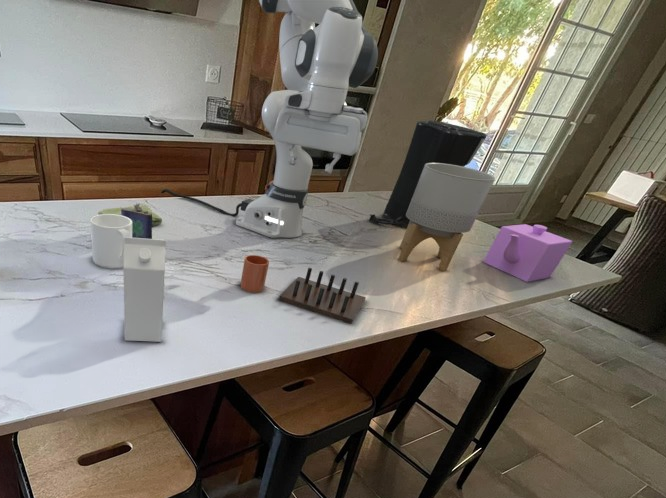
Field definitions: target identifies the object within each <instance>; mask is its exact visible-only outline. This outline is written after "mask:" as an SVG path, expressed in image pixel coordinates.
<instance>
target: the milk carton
mask: <svg viewBox="0 0 666 498" xmlns="http://www.w3.org/2000/svg"><path fill="white" fill-rule="evenodd" d="M166 241H167V240H166V239H158V238H157V239H156V238H152V239H145V238H131V237H124V265H123V268H122V269H123V317H124V318H123V321H124V323H123V324H124V326H123V327H124V328H123V329H124V341H130V342H131V341H132V342H133V341H134V342H154V343H155V342H159V343H161V342H162V340H163V320H164V319H163V318H164V298H165V297H164V296H165V274H166V246H167V245H166V243H167V242H166Z"/></svg>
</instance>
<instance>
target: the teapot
mask: <svg viewBox="0 0 666 498" xmlns="http://www.w3.org/2000/svg"><path fill="white" fill-rule="evenodd" d="M547 230H548V227H547V226H545V225H542V224H534V225H533V226H532V225H530V224H528V223H527V224H526V223H522V224H514V225H502V226H501V227H500V228H499V231H498V233H497V234H496V236H495V238H494V240H493V242H492V244H491V246H490V247H489V250H488V251H487V254H486V256H485V257H484V259H483V261H482V262H483V263H485V264H487V265H489V266H491V267H493V268H495V269H498V270H499V271H502V272H504V273H506V274H509V275H511V276H513V277H514V278H518V279H519V280H522V281H524V282H526V283H528V282H533V281H537V280H538V281H539V280H542V279H549V278H551V277H552V275H553V273H555V270H556V269H557V267H558V266H559V264H560V263H561V261H562V259H563V258H564V256H565V255H566V253H567V251H569V248H570V247H571V245H572V244H573V240H571V239H568V238H565V237H564V236H563V237H562V236H560V235H557V234H554V233H551V232H549V231H547Z"/></svg>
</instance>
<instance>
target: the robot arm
mask: <svg viewBox="0 0 666 498" xmlns="http://www.w3.org/2000/svg"><path fill="white" fill-rule="evenodd" d="M258 2H259V4H260V9H261V10H262V11H263V12H264V13H266V14H276V13H286V14H285V15H283V18H282V19H281V22H280V26H279V36H278V37H279V38H278V50H279V52H278V53H279V62H280V72H281V81H282V83H283V86H284V87H285V88H286V89H282V90H275V91H271V92H270V93H269V94H268V96H267V97H266V98H265V99H264V102H263V105H262V108H261V120H262V123H263V127H264V128H265V130H266V131H267V132H268V134H270V136H271V138H272V140H273V143H274V146H275V152H276V153H275V154H276V160H275V169H274V175H273V180H271V181H270V182H269V183H267V184H266V185H264V187H265V188H264V190H265V193H264V194H262V195H261V196H259V197H257V198H256V199H251V198H248V199H244V200H242V201H241V202H240V203H238V204H237V205H236V207H235V212H234V213H230V212H227V211H225V210H224V209H222V208H219V207H217V206H215V205H212V204H210V203H209V202H205V201H203V200H201V199H198V198H195V197H192V196H188V195H185V194H180V193H176V192H173V191H172V190H170V189H168V188H164V189H162V190H160V194H164V193H168V194H170V195H172V196H173V197H177V198H181V199H185V200H189V201H193V202H196V203H199V204H201V205H204V206H206V207H207V208H210V209H212V210H214V211H217V212H219V213H221V214H223V215H227V216H231V217H237V216H238V215H239V211H243V212H244V213H243V214H242V215H240V216H238V217H237V218H236V221H235V225H236V226H238V227H241V228H244V229H247V230H249V231H252V232H255V233H258V234H261V235H263V236H265V237H268V238H272V239H277V238H285V239H286V238H287V239H288V238H291V239H292V238H297V237H300V236H302V235H303V214H304V208H305V206H306V204H307V200H308V195H309V194H308V193H309V183H310V179H311V174H312V171H313V166H314V163H313V159H312V156H311V155H310V154H309V153H308V152H306V150H304V149H303V148H302V147H304V148H310V149H315V150H320V151H325V152H331V153H333V155H332V158H333V160H332V161H331V162H330V163H326V164H325V166H324V167H325V169H324V173H325V174H332V173H333V169H334V166H335V165H336V163H337V162H339V160H340V159H341V157H342V155H345V156H350V157H351V156H354V155H356V153H358V151H359V149H360V144H361V140H362V134H363V131H364V130H365V129H366V127H367V123H368V120H369V119H368V118H369V116H368V113H367V111H365V110H364V108H363V107H355V106H351V105H348V104H347V102H346V99H347V95H348V91H349V88H353V89H357V88H359V87H360V86H361V85H363V84H364V83H365V82H367V81H368V80H369V79H370V78H371V76H372V75H373V74H374V72H375V69H376V67H377V63H378V59H379V50H378V44H377V42H376V39H375V38H374V36H373V35H372V34H371V33H369V32H368V31H367V29H366V27H365V24H364V21H363V16H362V14H361V13H360V12H359V11H358V9H357V6H356V4H355V2H354V0H258ZM316 24H318V25H317V26H316Z"/></svg>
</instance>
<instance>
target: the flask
mask: <svg viewBox="0 0 666 498" xmlns="http://www.w3.org/2000/svg"><path fill="white" fill-rule="evenodd" d="M140 205H141V203H136V204H133V207H135V209H131V208H123V207H122V209H121V215H122V216H125V217H128V218H130V219H131V220H132V238H145V239H153V226H152V214H151V213H149V212H148V211H146V210H145V211H144V210H142V209H141V208H140V207H139V206H140Z"/></svg>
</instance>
